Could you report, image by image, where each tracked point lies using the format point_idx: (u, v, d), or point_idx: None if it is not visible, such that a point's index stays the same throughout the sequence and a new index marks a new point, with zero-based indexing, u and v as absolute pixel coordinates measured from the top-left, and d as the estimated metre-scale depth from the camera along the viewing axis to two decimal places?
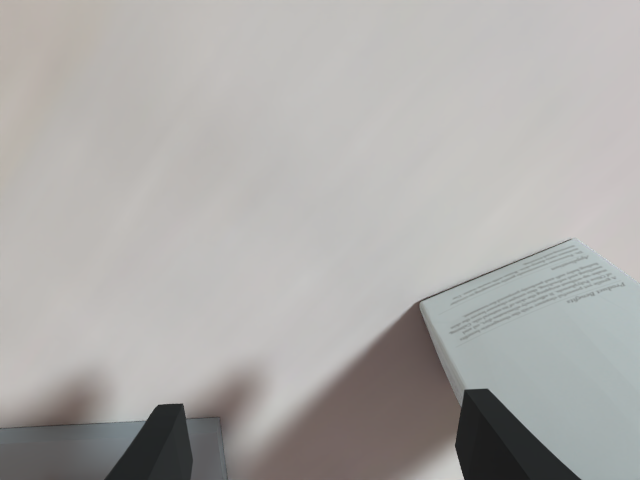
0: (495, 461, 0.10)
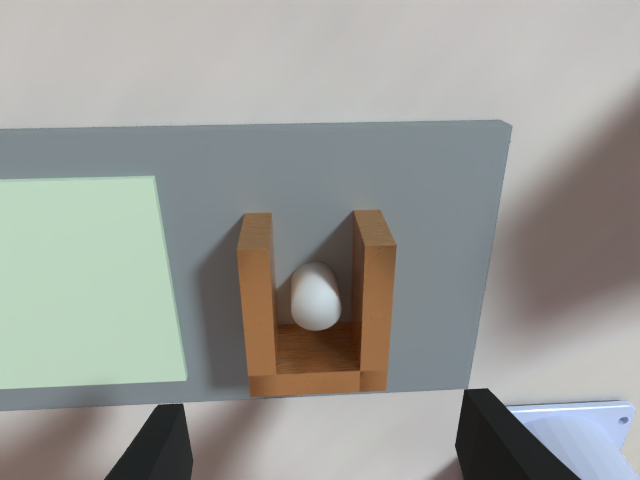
0: (495, 460, 0.10)
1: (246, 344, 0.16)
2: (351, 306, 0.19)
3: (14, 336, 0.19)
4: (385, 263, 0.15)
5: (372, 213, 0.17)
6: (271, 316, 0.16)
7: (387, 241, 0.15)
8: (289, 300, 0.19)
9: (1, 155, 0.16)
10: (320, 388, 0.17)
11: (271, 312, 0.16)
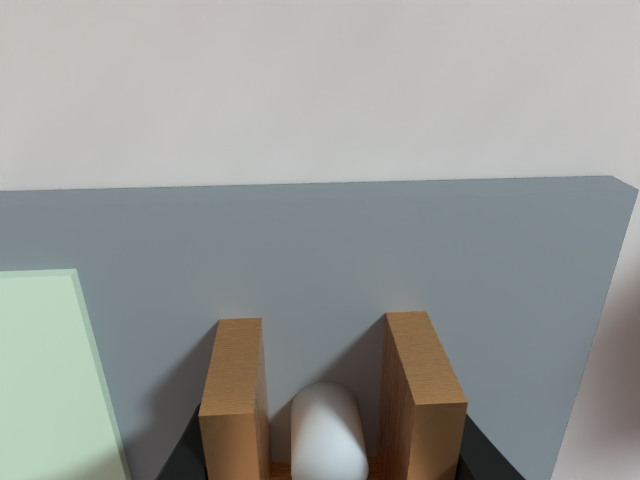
0: None
1: None
2: (378, 440, 0.13)
3: None
4: (447, 427, 0.09)
5: (415, 320, 0.11)
6: None
7: (450, 390, 0.09)
8: (288, 432, 0.13)
9: None
10: None
11: None
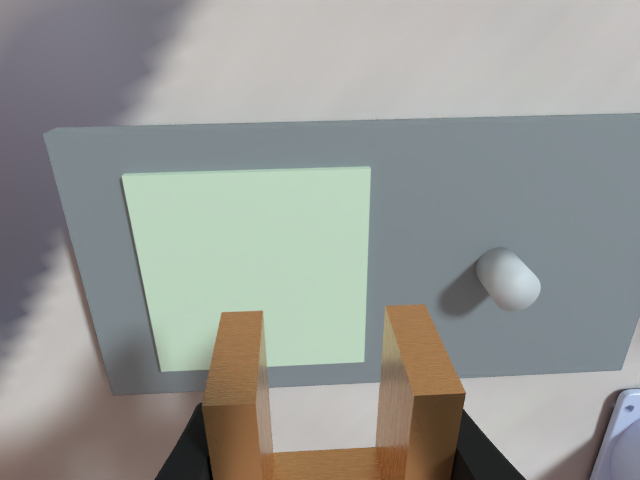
0: None
1: None
2: (378, 431, 0.13)
3: (215, 319, 0.20)
4: (445, 418, 0.09)
5: (415, 313, 0.11)
6: None
7: (448, 382, 0.09)
8: (470, 284, 0.20)
9: (233, 148, 0.17)
10: None
11: None
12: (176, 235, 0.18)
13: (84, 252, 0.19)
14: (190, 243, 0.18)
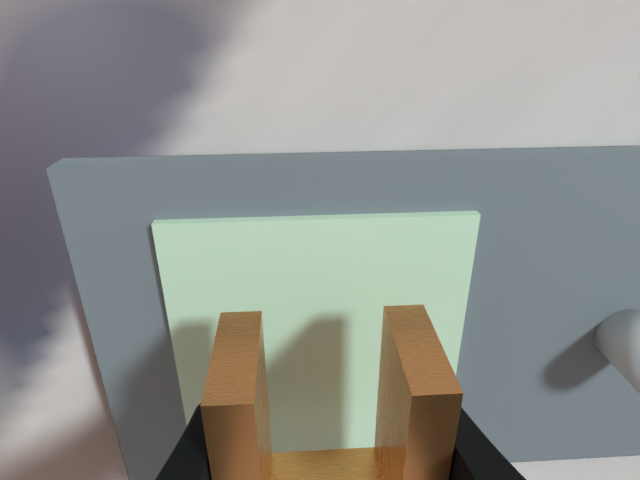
0: None
1: None
2: (377, 431, 0.13)
3: None
4: (443, 418, 0.09)
5: (413, 313, 0.11)
6: None
7: (446, 382, 0.09)
8: (585, 353, 0.16)
9: (301, 187, 0.13)
10: None
11: None
12: (220, 298, 0.14)
13: (98, 317, 0.14)
14: (238, 308, 0.14)
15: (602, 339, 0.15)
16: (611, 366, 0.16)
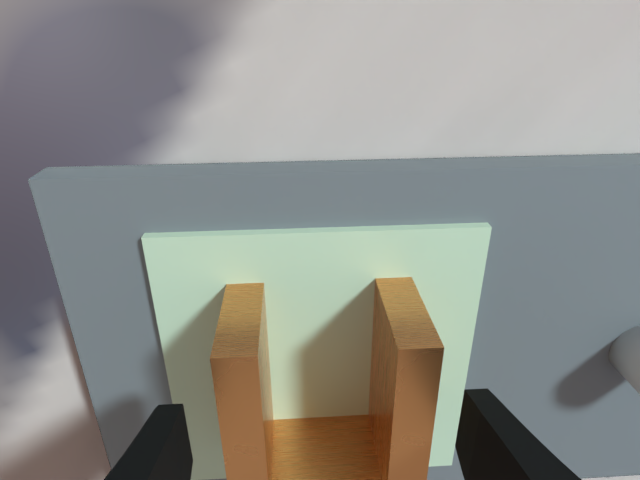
0: (495, 460, 0.10)
1: (227, 476, 0.12)
2: (370, 398, 0.14)
3: None
4: (426, 371, 0.10)
5: (402, 284, 0.13)
6: (262, 441, 0.11)
7: (429, 339, 0.10)
8: (600, 370, 0.15)
9: (301, 198, 0.12)
10: None
11: (262, 436, 0.11)
12: (215, 315, 0.13)
13: (86, 335, 0.13)
14: None
15: (618, 356, 0.15)
16: (626, 383, 0.16)
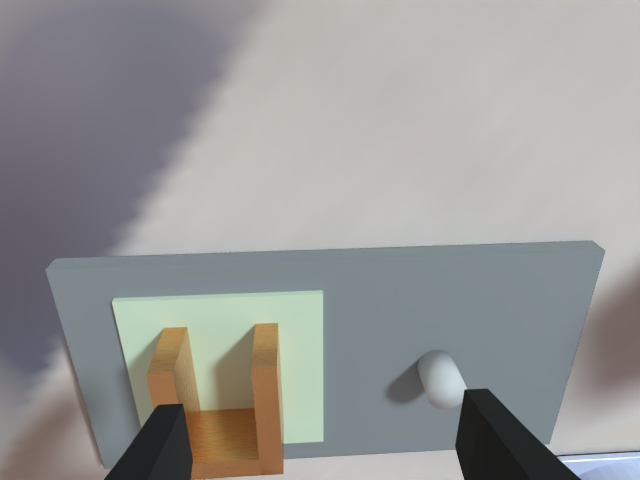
0: (495, 461, 0.10)
1: None
2: None
3: None
4: (269, 381, 0.19)
5: (270, 328, 0.21)
6: None
7: (271, 363, 0.19)
8: (413, 379, 0.23)
9: (206, 278, 0.20)
10: (227, 473, 0.21)
11: None
12: None
13: (79, 357, 0.22)
14: None
15: (419, 370, 0.23)
16: None
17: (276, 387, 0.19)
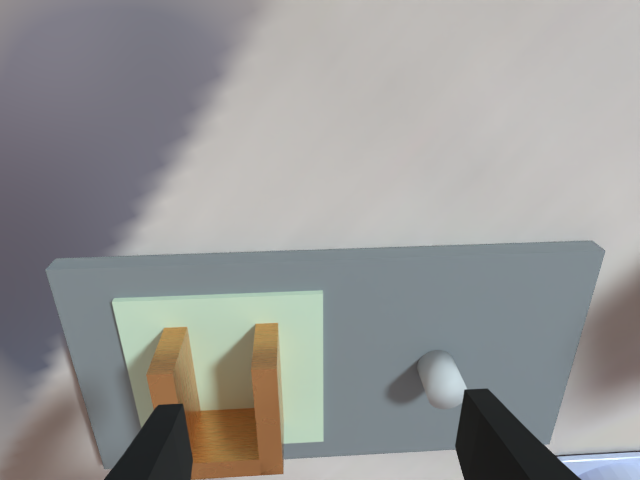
0: (495, 461, 0.10)
1: None
2: None
3: None
4: (269, 381, 0.19)
5: (270, 328, 0.21)
6: None
7: (271, 363, 0.19)
8: (413, 379, 0.23)
9: (206, 278, 0.20)
10: (227, 473, 0.21)
11: None
12: None
13: (79, 357, 0.22)
14: None
15: (419, 370, 0.23)
16: None
17: (276, 387, 0.19)
